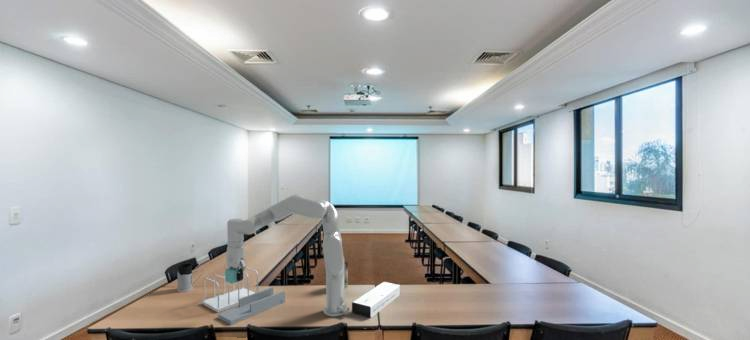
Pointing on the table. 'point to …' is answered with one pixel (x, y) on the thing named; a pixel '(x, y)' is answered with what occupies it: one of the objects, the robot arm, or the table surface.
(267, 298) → the sleeve
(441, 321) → the table surface
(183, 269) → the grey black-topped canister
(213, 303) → the file sorter
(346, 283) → the coffee box
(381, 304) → the laminator
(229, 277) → the teal block
